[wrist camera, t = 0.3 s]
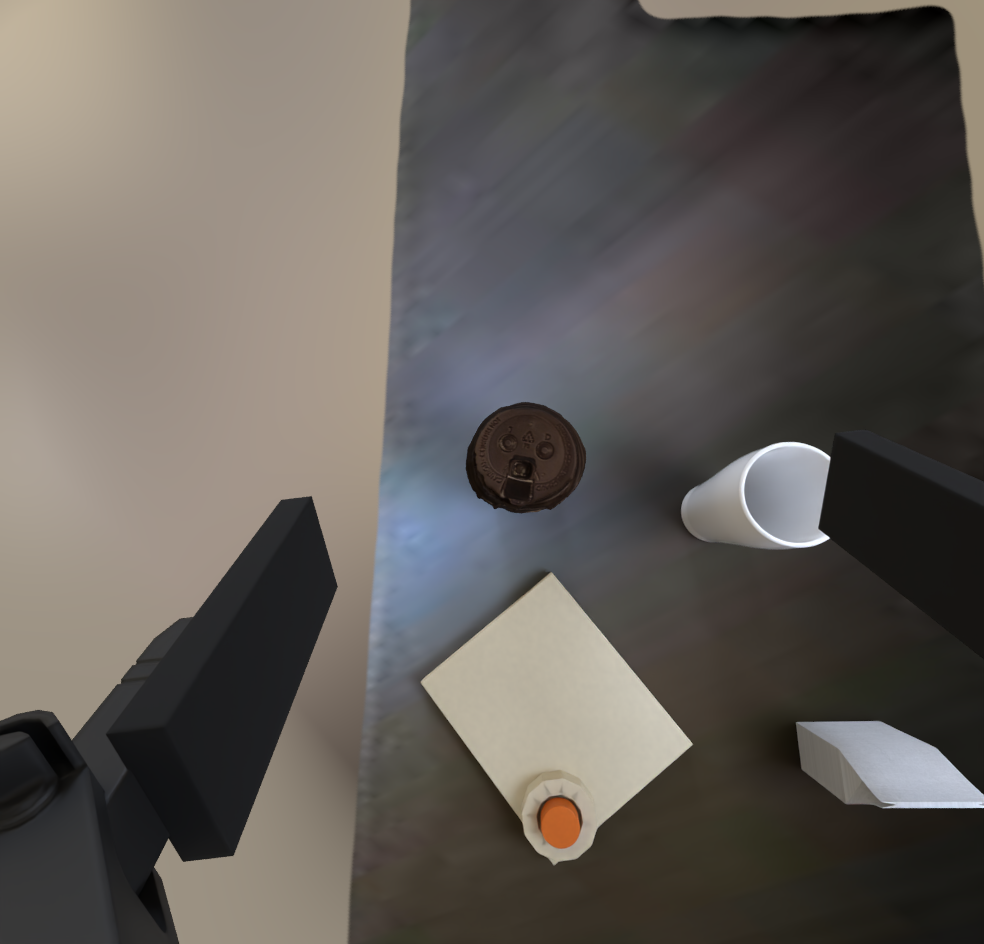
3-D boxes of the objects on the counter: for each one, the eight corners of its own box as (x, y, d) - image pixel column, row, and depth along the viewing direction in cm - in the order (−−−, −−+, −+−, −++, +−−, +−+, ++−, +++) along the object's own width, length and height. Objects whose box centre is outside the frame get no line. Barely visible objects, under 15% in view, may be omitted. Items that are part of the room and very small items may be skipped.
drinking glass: (699, 565, 45) (783, 570, 30) (656, 501, 46) (716, 476, 31) (762, 525, 45) (876, 511, 30) (717, 462, 46) (806, 419, 32)
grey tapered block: (795, 722, 42) (876, 772, 33) (879, 721, 42) (987, 772, 32) (801, 769, 42) (886, 835, 32) (886, 768, 41) (998, 835, 32)
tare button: (585, 821, 40) (588, 831, 38) (557, 846, 40) (558, 858, 38) (561, 788, 40) (562, 797, 39) (532, 813, 40) (532, 823, 39)
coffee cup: (516, 544, 46) (512, 541, 34) (461, 476, 48) (437, 447, 35) (589, 485, 47) (611, 459, 34) (532, 419, 48) (533, 371, 35)
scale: (688, 738, 43) (699, 752, 40) (553, 856, 42) (555, 878, 39) (551, 571, 46) (552, 572, 43) (423, 678, 45) (415, 687, 42)
